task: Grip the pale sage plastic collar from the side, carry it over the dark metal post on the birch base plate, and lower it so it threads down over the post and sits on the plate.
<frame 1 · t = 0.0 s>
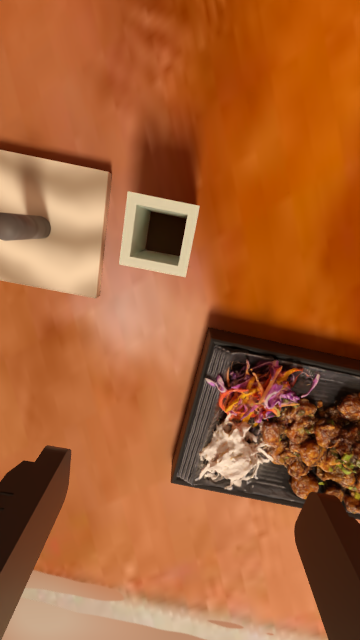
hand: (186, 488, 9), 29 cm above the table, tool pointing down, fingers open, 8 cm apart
collar: (166, 234, 35), on the table
food platter: (327, 427, 44), on the table
post base: (46, 227, 35), on the table
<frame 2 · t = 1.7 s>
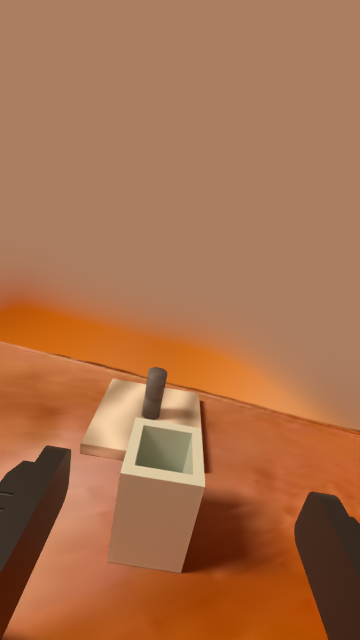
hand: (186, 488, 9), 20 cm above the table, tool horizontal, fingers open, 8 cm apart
collar: (148, 529, 27), on the table
post base: (149, 422, 41), on the table
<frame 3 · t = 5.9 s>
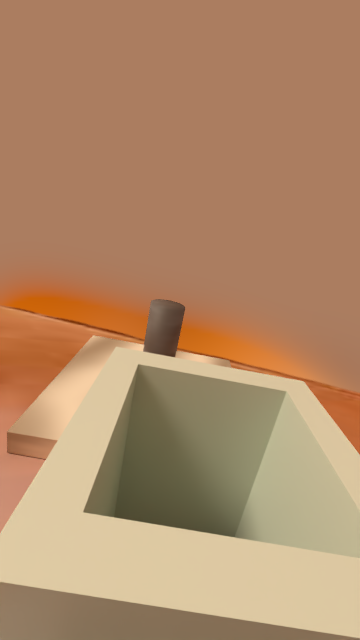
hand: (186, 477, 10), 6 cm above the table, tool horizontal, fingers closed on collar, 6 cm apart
post base: (150, 399, 23), on the table
when the fingers open (9 cm above the table, at t = 12.5 s): collar drops 1 cm, resting on post base.
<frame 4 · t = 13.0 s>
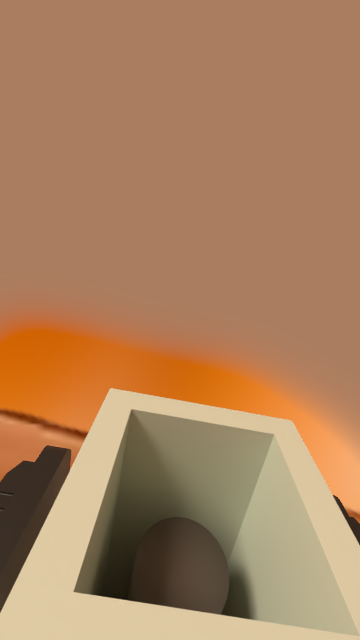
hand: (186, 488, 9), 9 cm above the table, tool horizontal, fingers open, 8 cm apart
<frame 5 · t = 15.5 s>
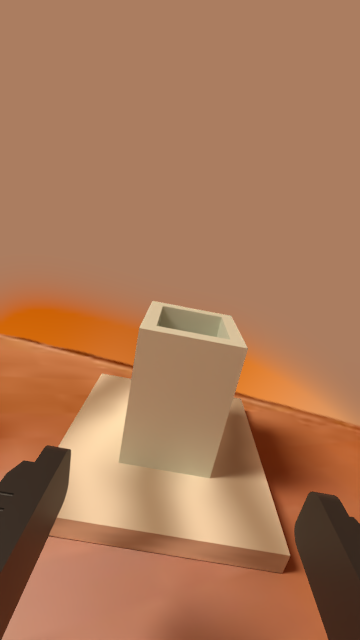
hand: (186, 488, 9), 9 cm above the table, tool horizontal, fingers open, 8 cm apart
collar: (167, 437, 22), point 1 cm above the table, touching post base
post base: (163, 451, 23), on the table
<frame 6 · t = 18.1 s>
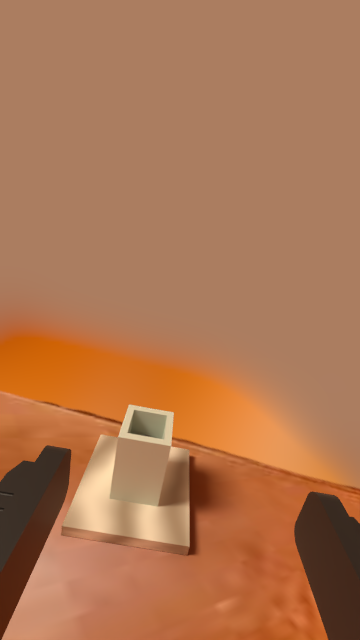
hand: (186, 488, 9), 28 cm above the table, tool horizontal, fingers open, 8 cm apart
collar: (137, 481, 39), point 1 cm above the table, touching post base
post base: (136, 488, 40), on the table
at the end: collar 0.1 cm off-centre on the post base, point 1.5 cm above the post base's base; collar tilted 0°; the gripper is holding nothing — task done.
